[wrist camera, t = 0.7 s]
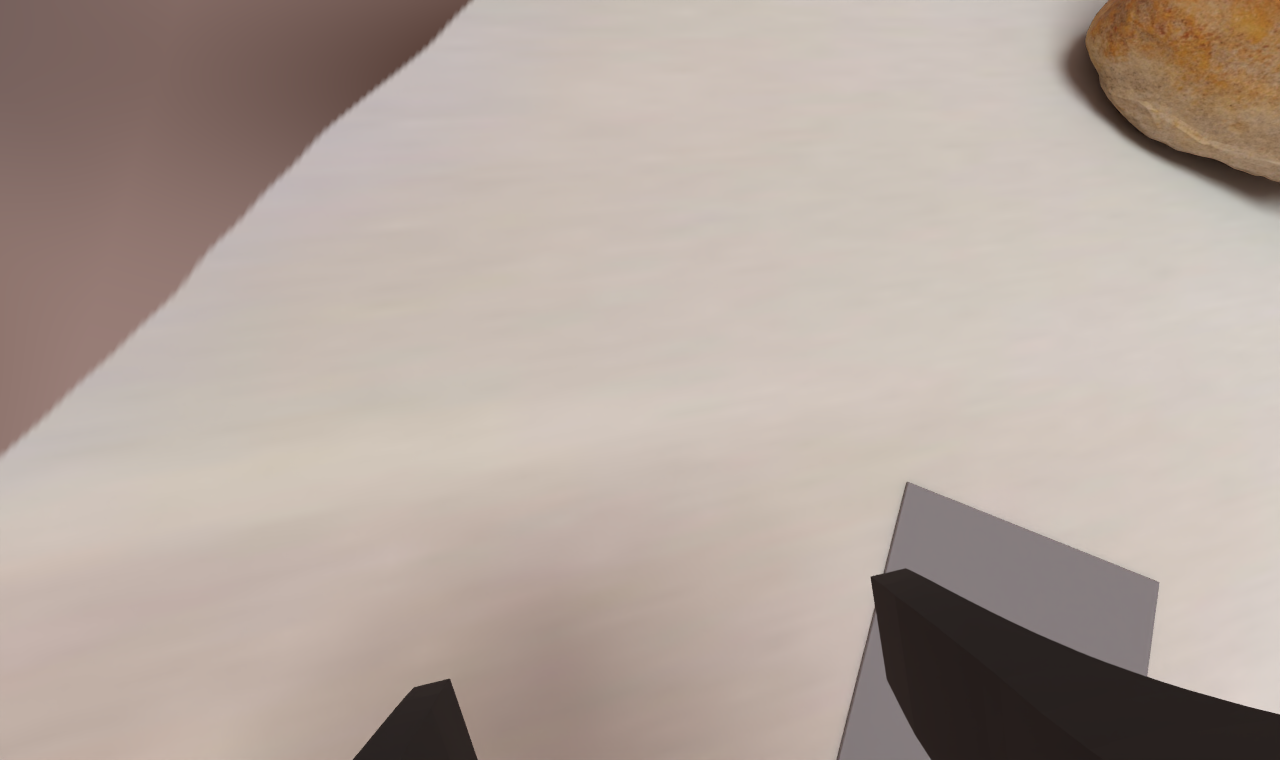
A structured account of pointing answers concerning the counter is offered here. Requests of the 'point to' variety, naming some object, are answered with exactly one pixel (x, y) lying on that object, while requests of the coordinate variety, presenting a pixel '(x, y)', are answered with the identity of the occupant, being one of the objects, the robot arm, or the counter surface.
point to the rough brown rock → (1196, 75)
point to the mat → (998, 604)
